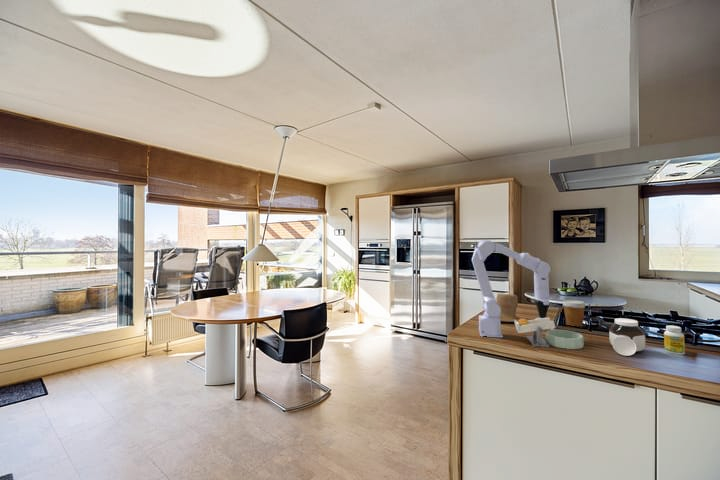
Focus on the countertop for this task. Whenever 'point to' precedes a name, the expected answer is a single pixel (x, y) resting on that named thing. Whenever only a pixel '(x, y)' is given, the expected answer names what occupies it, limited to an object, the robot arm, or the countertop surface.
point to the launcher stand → (538, 339)
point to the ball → (522, 322)
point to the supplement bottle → (674, 340)
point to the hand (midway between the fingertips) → (542, 317)
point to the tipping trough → (535, 325)
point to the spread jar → (627, 337)
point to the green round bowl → (564, 339)
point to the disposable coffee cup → (574, 312)
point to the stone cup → (507, 307)
